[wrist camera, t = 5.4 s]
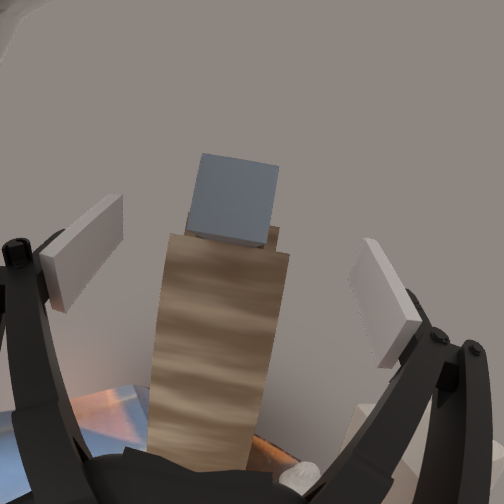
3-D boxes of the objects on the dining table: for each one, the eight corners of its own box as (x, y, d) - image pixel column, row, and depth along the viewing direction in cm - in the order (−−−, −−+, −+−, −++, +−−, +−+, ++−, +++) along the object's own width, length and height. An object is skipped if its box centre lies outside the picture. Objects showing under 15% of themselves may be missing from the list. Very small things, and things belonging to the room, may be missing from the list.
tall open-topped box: (231, 523, 25) (295, 218, 26) (147, 509, 24) (177, 197, 25) (231, 453, 41) (272, 231, 41) (168, 443, 40) (199, 219, 41)
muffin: (276, 482, 35) (287, 447, 35) (318, 489, 33) (332, 454, 34) (269, 508, 29) (281, 473, 29) (316, 516, 27) (332, 481, 27)
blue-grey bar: (266, 243, 15) (279, 166, 15) (186, 229, 15) (202, 153, 15) (247, 250, 39) (253, 218, 39) (216, 244, 39) (221, 213, 39)
